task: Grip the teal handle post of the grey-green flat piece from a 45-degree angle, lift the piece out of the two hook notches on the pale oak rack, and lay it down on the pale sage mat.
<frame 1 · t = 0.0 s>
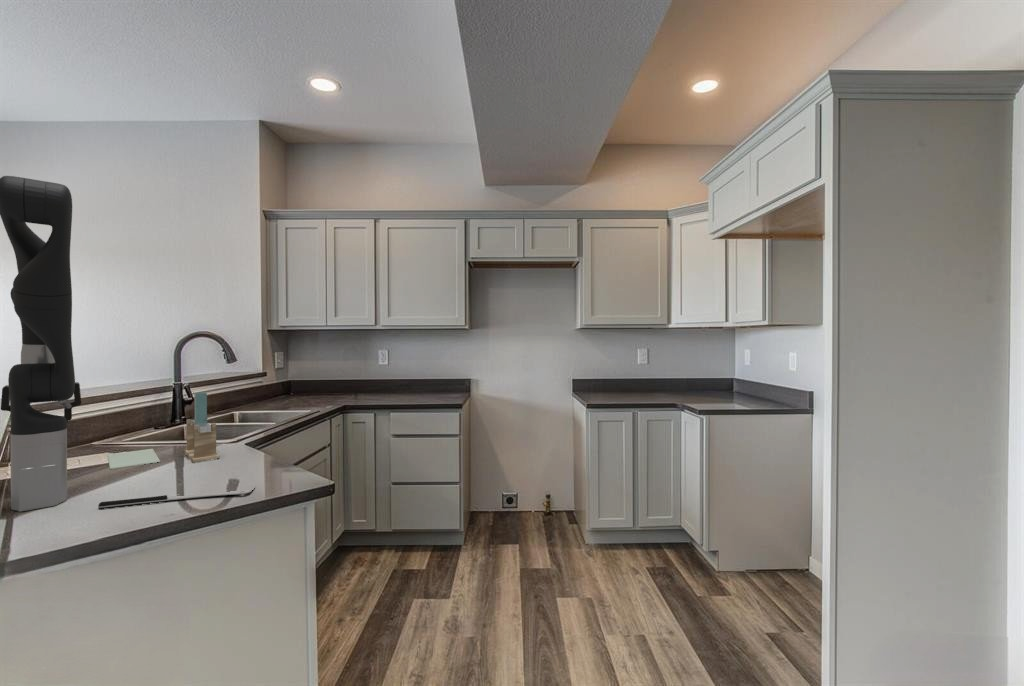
hand: (43, 424, 117), 17 cm above the counter, tool pointing down, fingers open, 8 cm apart
mat: (133, 458, 149), on the counter
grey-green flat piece: (200, 428, 153), point 9 cm above the counter, touching rack
rack: (200, 455, 153), on the counter
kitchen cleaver: (182, 499, 111), on the counter
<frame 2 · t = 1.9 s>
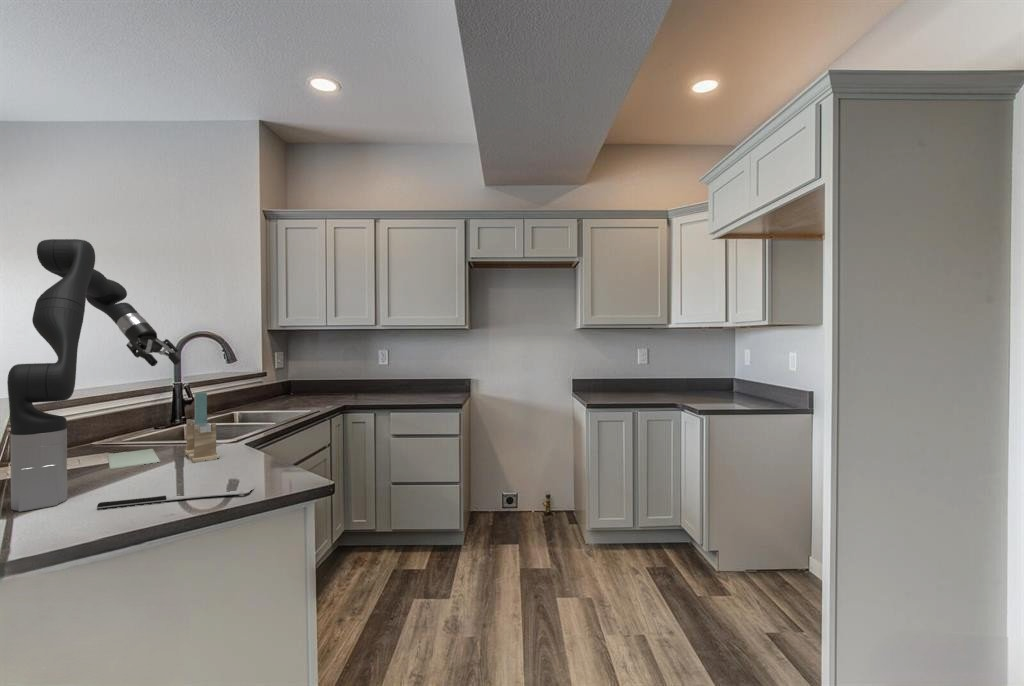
hand: (166, 363, 152), 31 cm above the counter, tool tilted 45°, fingers open, 8 cm apart
nothing on the counter moved.
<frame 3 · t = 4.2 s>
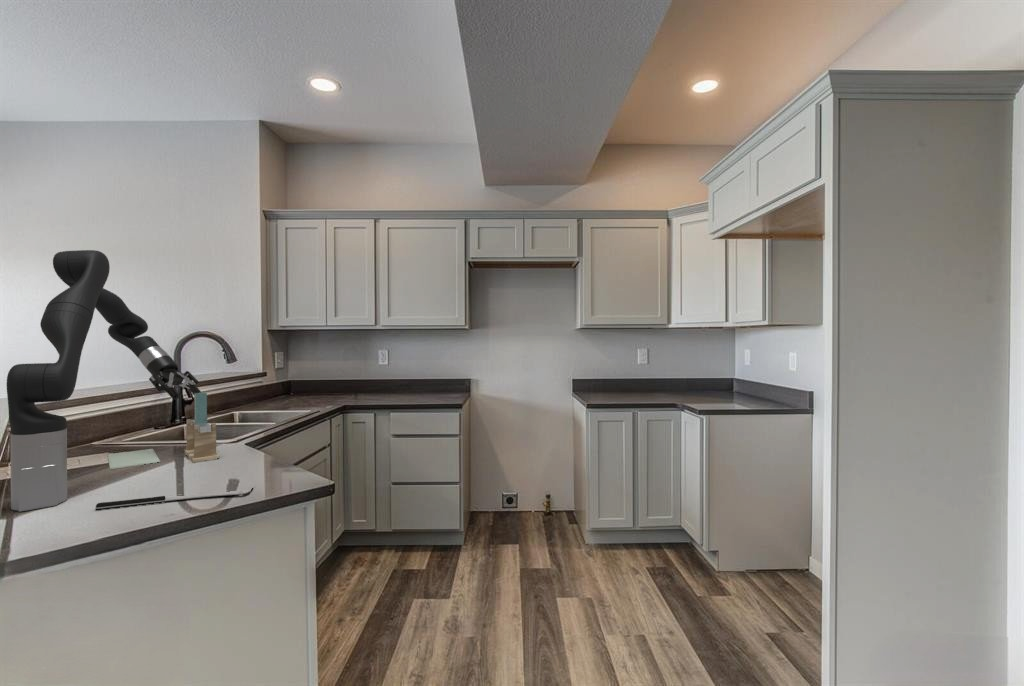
hand: (188, 396, 153), 20 cm above the counter, tool tilted 45°, fingers open, 8 cm apart
nothing on the counter moved.
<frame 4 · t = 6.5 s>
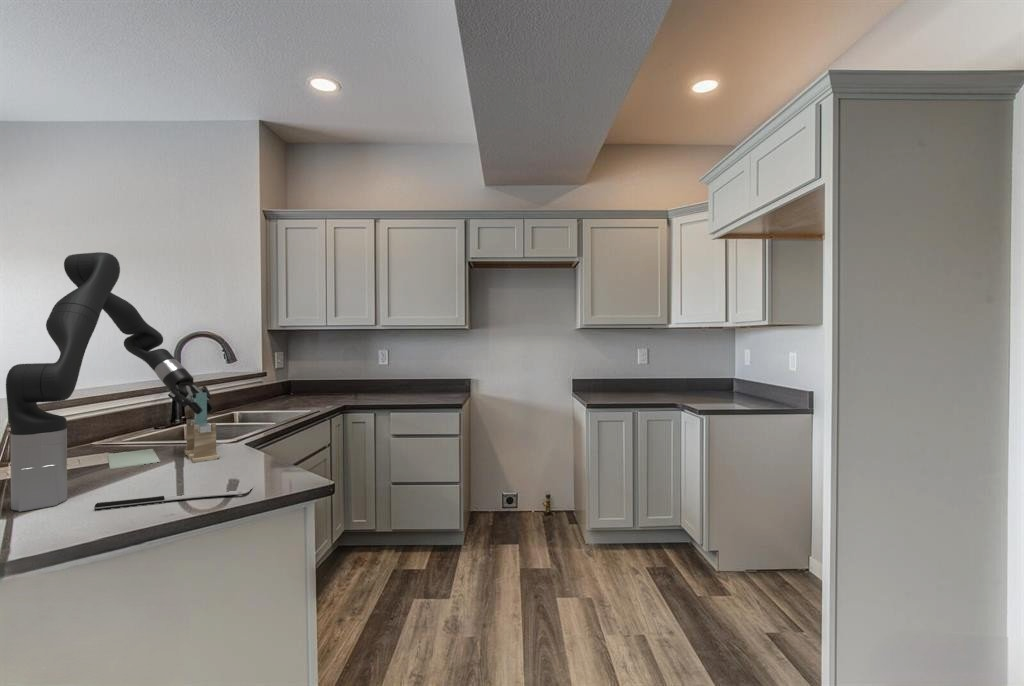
hand: (205, 411, 152), 15 cm above the counter, tool tilted 45°, fingers closed on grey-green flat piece, 4 cm apart
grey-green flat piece: (200, 428, 153), point 9 cm above the counter, touching gripper, rack
everything else where it was.
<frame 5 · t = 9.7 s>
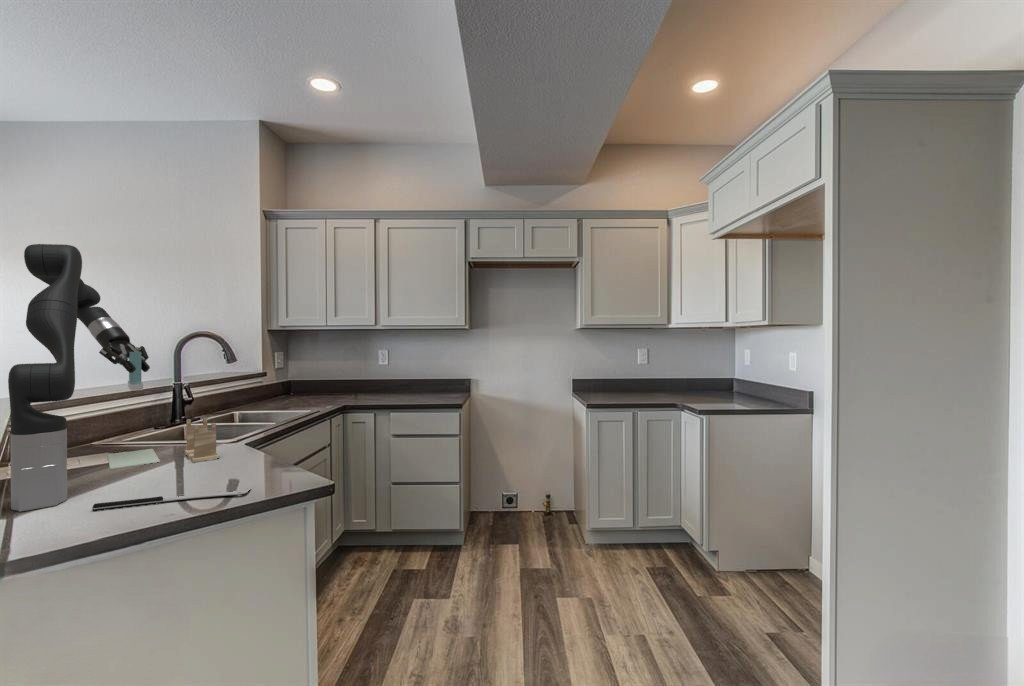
hand: (140, 370, 149), 29 cm above the counter, tool tilted 45°, fingers closed on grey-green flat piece, 4 cm apart
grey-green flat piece: (135, 388, 149), point 23 cm above the counter, touching gripper
everything else where it was.
when the fingers open (8 cm above the counter, at t = 12.9 s): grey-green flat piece drops 1 cm, resting on mat.
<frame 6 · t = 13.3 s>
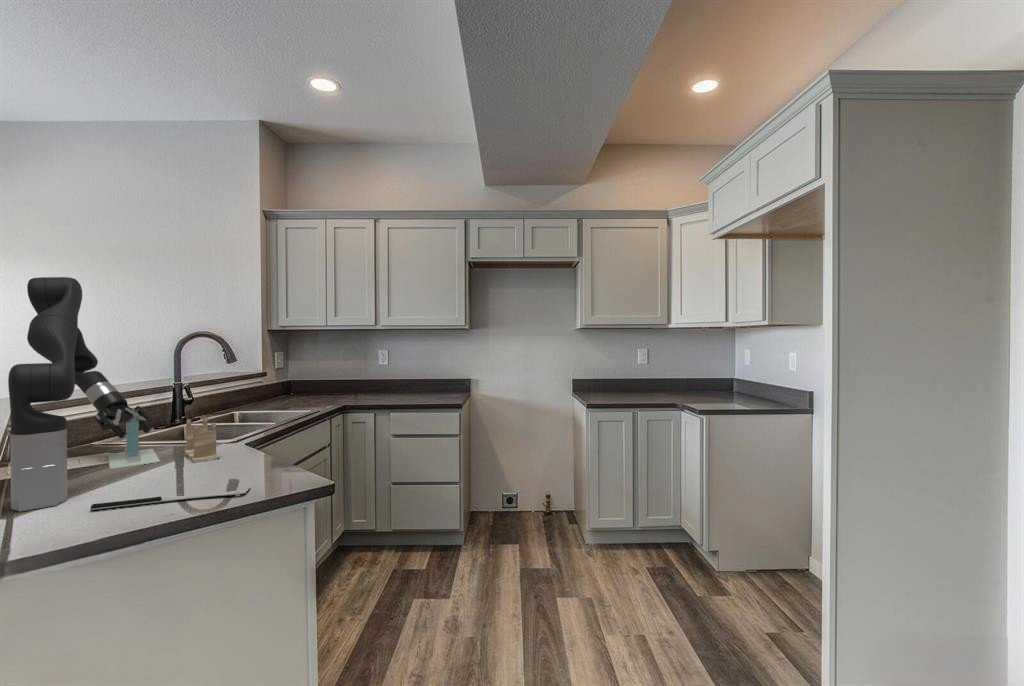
hand: (136, 433, 149), 8 cm above the counter, tool tilted 45°, fingers open, 8 cm apart
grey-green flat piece: (132, 457, 149), resting on mat
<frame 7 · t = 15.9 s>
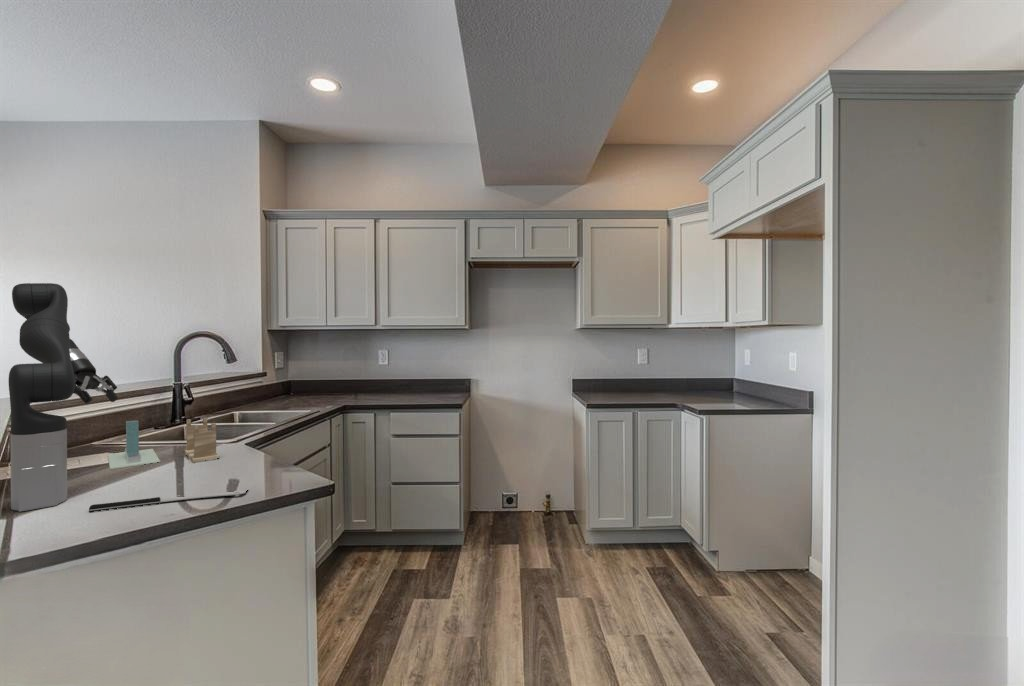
hand: (102, 401, 150), 19 cm above the counter, tool tilted 45°, fingers open, 8 cm apart
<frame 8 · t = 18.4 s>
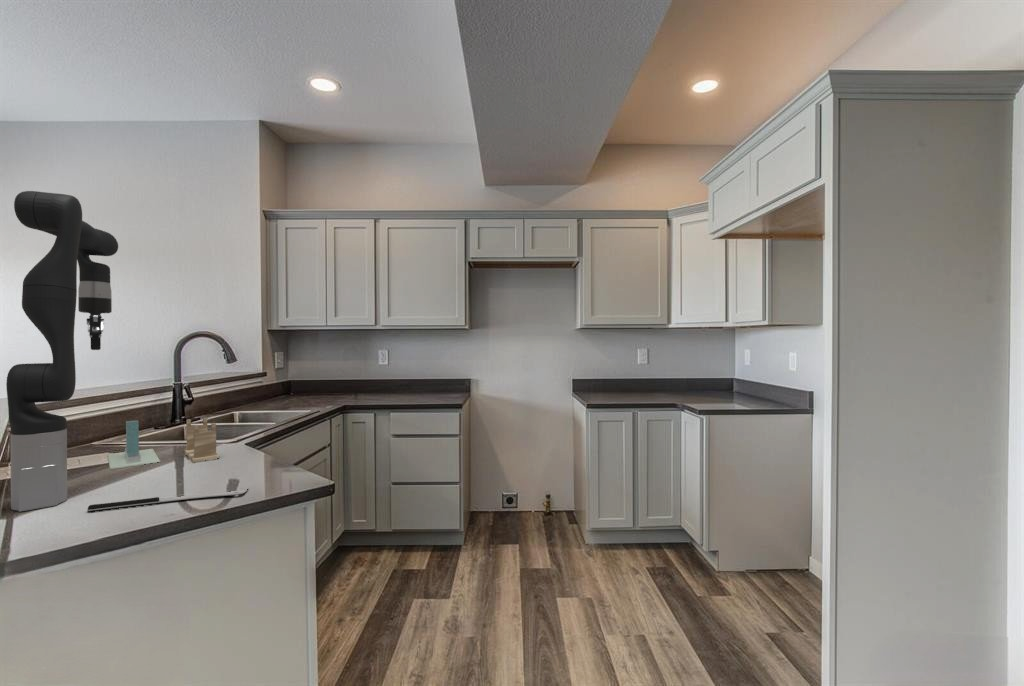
hand: (95, 349, 139), 36 cm above the counter, tool pointing down, fingers open, 8 cm apart
at the end: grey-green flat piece inside the target area on the mat (0.1 cm from its centre), point 0.4 cm above the mat's base; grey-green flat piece resting on mat; the gripper is holding nothing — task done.
